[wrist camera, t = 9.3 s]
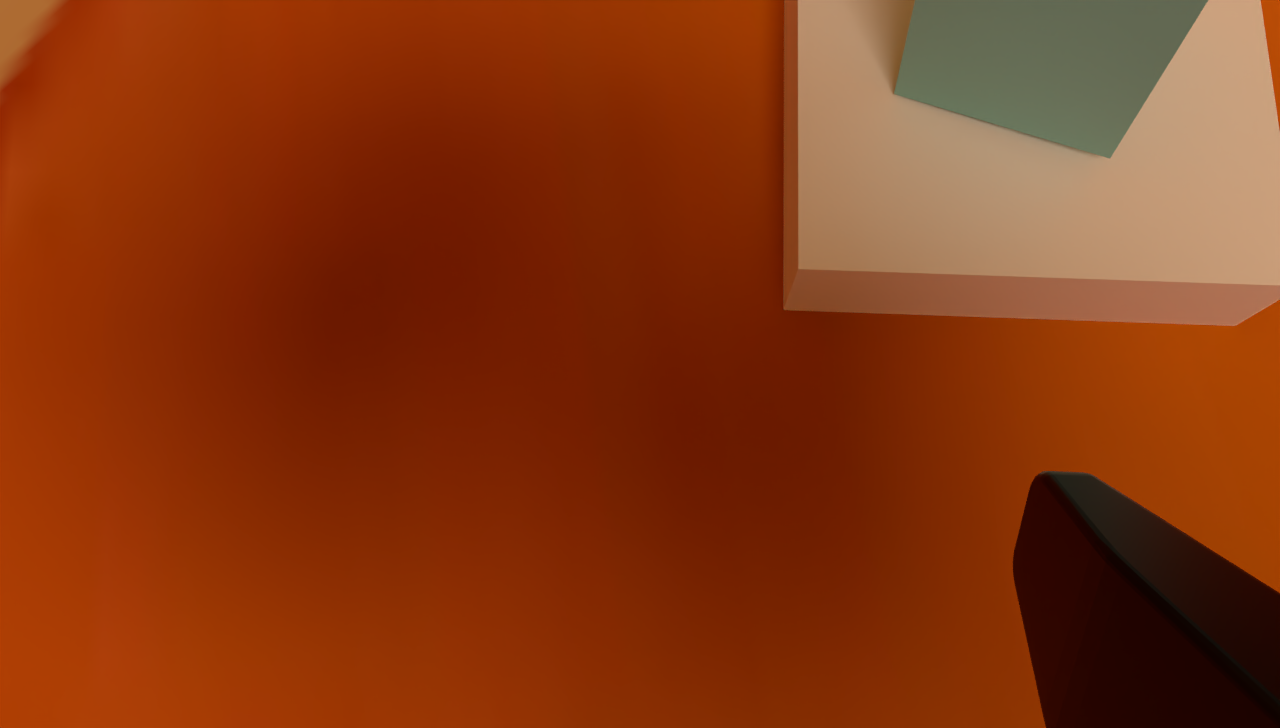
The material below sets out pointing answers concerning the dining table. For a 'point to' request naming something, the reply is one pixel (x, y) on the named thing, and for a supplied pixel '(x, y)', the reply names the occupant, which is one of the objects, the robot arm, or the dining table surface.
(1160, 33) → the tall block
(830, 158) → the base plate
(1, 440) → the dining table surface
